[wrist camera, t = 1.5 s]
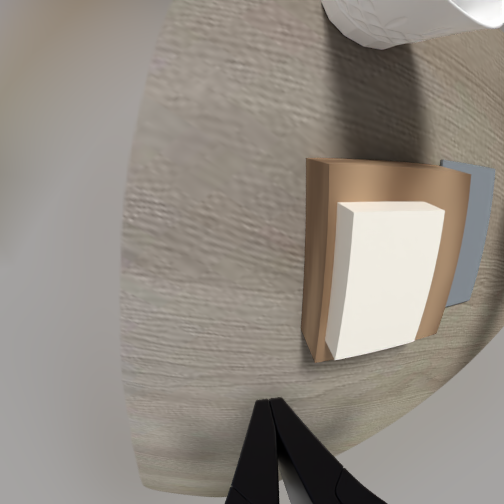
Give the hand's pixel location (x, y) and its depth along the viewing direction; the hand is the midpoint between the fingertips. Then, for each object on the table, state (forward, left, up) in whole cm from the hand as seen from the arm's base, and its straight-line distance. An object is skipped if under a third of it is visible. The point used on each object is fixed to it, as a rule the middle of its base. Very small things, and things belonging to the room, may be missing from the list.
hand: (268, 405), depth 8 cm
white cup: (-9, -18, -12) cm, 24 cm away
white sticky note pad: (-8, 0, -8) cm, 11 cm away
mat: (-20, 0, -12) cm, 23 cm away
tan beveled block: (-10, 0, -12) cm, 16 cm away
